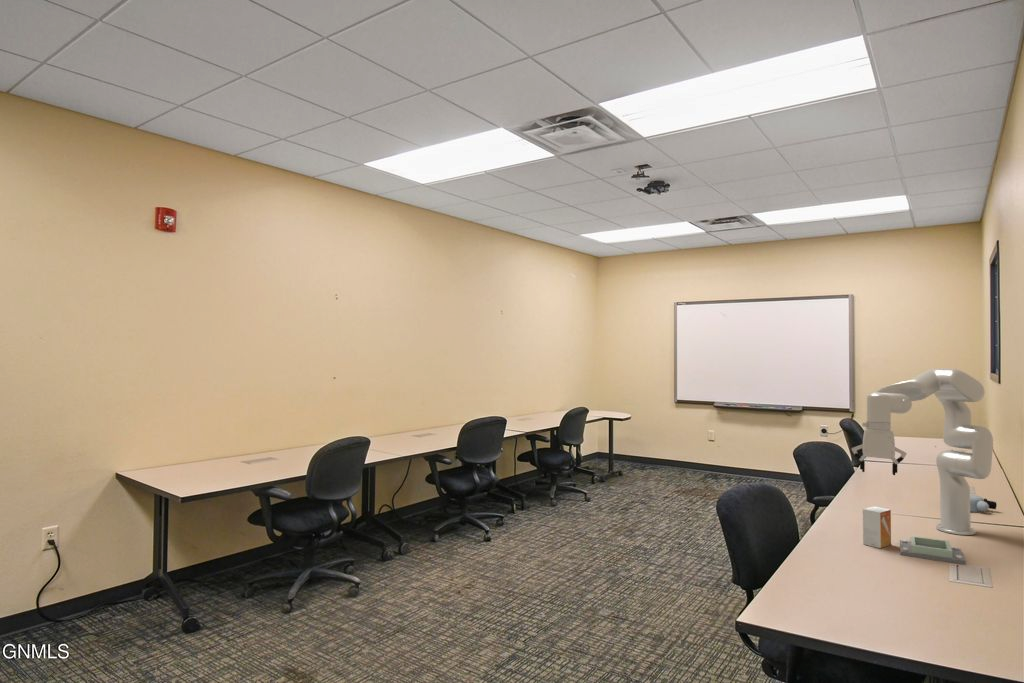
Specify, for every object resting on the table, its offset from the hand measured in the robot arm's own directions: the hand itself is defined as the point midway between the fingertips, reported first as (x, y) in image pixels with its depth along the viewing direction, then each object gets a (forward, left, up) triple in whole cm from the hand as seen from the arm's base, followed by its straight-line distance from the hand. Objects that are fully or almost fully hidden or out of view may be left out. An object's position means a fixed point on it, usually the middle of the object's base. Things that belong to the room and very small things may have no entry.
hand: (878, 473), depth 218 cm
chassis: (+2, +15, -26) cm, 30 cm away
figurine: (-81, +33, -27) cm, 91 cm away
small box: (+1, -1, -26) cm, 26 cm away
